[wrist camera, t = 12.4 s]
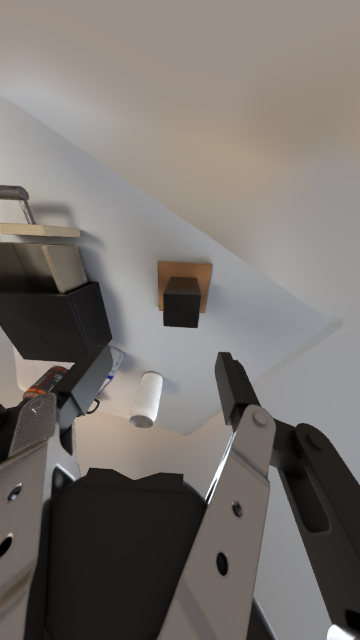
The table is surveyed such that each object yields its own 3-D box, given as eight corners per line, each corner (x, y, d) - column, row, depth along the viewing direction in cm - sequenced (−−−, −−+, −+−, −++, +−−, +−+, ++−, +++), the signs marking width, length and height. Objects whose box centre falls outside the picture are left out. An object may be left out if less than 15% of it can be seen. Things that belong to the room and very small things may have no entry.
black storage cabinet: (29, 278, 29) (-25, 291, 22) (98, 282, 29) (67, 296, 21) (57, 335, 36) (23, 359, 29) (112, 338, 36) (92, 364, 29)
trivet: (158, 260, 26) (157, 261, 25) (211, 263, 26) (212, 264, 25) (160, 308, 31) (159, 310, 30) (204, 311, 31) (205, 313, 30)
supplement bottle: (47, 371, 44) (7, 408, 34) (55, 362, 42) (15, 400, 32) (65, 380, 46) (32, 419, 36) (74, 373, 44) (41, 411, 34)
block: (170, 276, 27) (162, 293, 18) (196, 277, 27) (201, 295, 18) (170, 300, 29) (163, 326, 20) (194, 302, 29) (197, 328, 20)
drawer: (-15, 193, 22) (-90, 174, 16) (69, 196, 21) (25, 179, 16) (38, 299, 30) (2, 313, 25) (98, 302, 30) (76, 317, 24)
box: (113, 368, 42) (97, 395, 34) (99, 360, 40) (79, 387, 33) (126, 353, 38) (111, 380, 31) (111, 345, 37) (92, 371, 30)
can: (139, 380, 44) (124, 423, 33) (147, 368, 41) (133, 411, 31) (157, 387, 45) (148, 431, 35) (166, 376, 42) (159, 420, 32)
